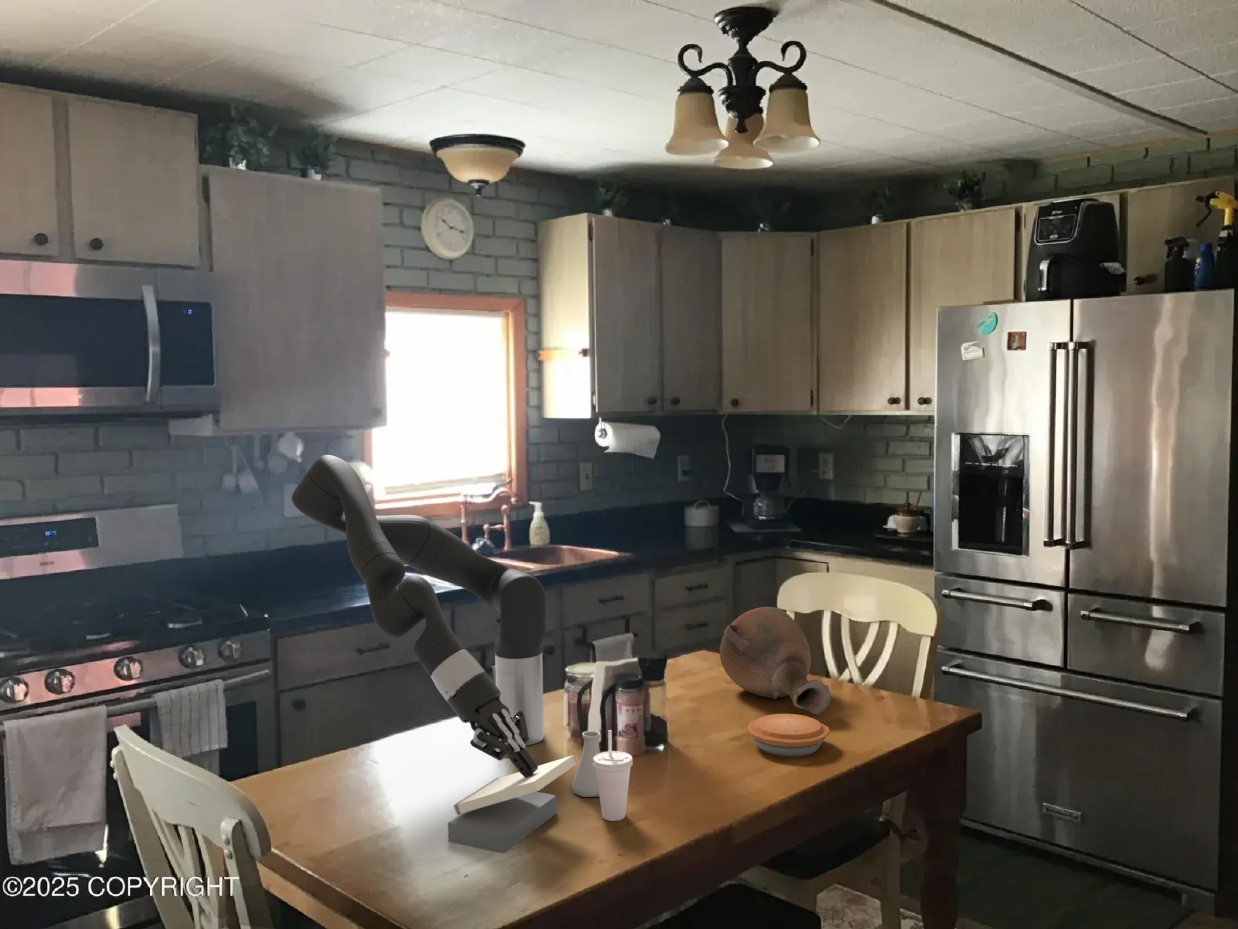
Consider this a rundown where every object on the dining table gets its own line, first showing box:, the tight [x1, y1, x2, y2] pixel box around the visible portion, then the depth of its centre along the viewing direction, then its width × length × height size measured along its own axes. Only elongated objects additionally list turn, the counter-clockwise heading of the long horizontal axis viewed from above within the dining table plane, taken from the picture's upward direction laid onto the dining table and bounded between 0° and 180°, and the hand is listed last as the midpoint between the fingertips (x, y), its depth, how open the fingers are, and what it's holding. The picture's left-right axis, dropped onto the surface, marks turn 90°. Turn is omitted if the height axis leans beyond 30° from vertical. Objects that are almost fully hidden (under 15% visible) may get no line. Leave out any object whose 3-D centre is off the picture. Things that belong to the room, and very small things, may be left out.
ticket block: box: [447, 791, 558, 854], centre depth 166 cm, size 16×10×3 cm, turn 154°
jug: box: [719, 606, 831, 716], centre depth 230 cm, size 20×20×30 cm
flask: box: [571, 730, 601, 798], centre depth 180 cm, size 7×7×10 cm
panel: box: [452, 755, 577, 816], centre depth 165 cm, size 12×2×16 cm
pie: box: [747, 713, 831, 758], centre depth 201 cm, size 15×16×5 cm
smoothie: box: [593, 729, 634, 822], centre depth 169 cm, size 6×6×14 cm
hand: (532, 773), depth 162 cm, fingers closed
